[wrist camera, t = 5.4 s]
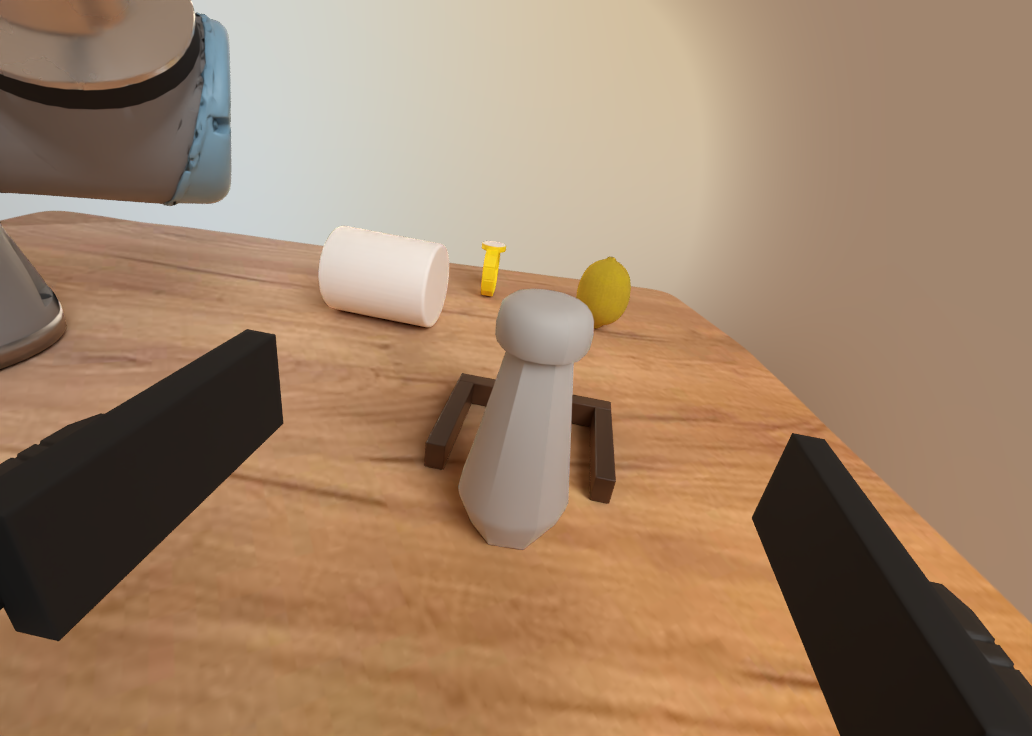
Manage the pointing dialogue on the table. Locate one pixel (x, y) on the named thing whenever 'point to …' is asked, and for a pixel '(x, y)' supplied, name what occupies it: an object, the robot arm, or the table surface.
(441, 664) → the table surface
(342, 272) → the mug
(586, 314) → the salt shaker
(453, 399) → the walnut stop
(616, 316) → the lemon
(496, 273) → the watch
